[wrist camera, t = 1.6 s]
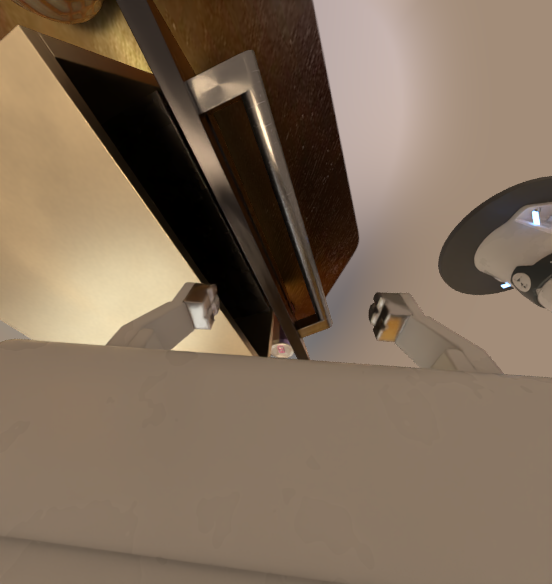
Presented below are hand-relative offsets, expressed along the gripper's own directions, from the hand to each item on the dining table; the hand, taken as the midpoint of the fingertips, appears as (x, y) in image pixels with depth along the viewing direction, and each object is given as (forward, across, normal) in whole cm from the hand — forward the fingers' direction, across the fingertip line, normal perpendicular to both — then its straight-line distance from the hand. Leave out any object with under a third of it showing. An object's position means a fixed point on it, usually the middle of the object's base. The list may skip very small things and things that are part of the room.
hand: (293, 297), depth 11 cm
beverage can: (+36, +2, +34) cm, 49 cm away
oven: (+35, +25, +13) cm, 45 cm away
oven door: (+36, +7, +6) cm, 37 cm away
